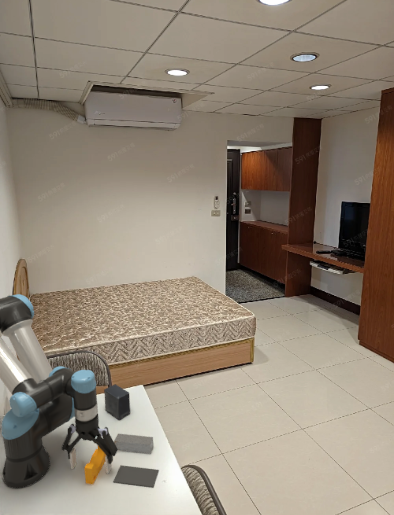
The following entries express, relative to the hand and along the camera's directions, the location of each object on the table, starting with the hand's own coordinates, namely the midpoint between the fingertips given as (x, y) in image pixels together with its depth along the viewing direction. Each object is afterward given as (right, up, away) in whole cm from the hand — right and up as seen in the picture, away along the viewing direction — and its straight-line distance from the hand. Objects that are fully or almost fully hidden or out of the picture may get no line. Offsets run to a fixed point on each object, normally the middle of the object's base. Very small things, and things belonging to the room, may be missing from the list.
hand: (91, 468), depth 124 cm
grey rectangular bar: (+14, +2, +9) cm, 17 cm away
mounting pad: (+17, -1, -3) cm, 17 cm away
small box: (+3, +6, +30) cm, 31 cm away
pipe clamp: (+1, -1, 0) cm, 2 cm away
